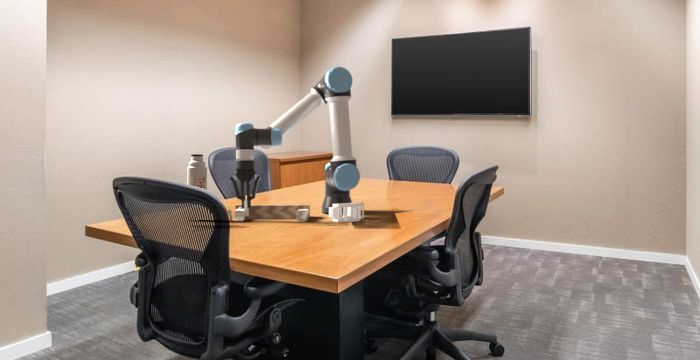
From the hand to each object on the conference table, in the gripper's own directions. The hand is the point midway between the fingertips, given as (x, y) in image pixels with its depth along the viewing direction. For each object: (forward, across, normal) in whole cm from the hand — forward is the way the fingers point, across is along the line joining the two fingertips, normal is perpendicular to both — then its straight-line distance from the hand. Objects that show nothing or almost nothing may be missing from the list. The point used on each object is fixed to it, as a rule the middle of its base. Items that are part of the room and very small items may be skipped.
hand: (246, 215), depth 217 cm
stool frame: (+2, -9, -11) cm, 14 cm away
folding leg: (+2, +4, -6) cm, 7 cm away
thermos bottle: (+2, +21, 0) cm, 21 cm away
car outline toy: (+4, -43, -4) cm, 43 cm away
